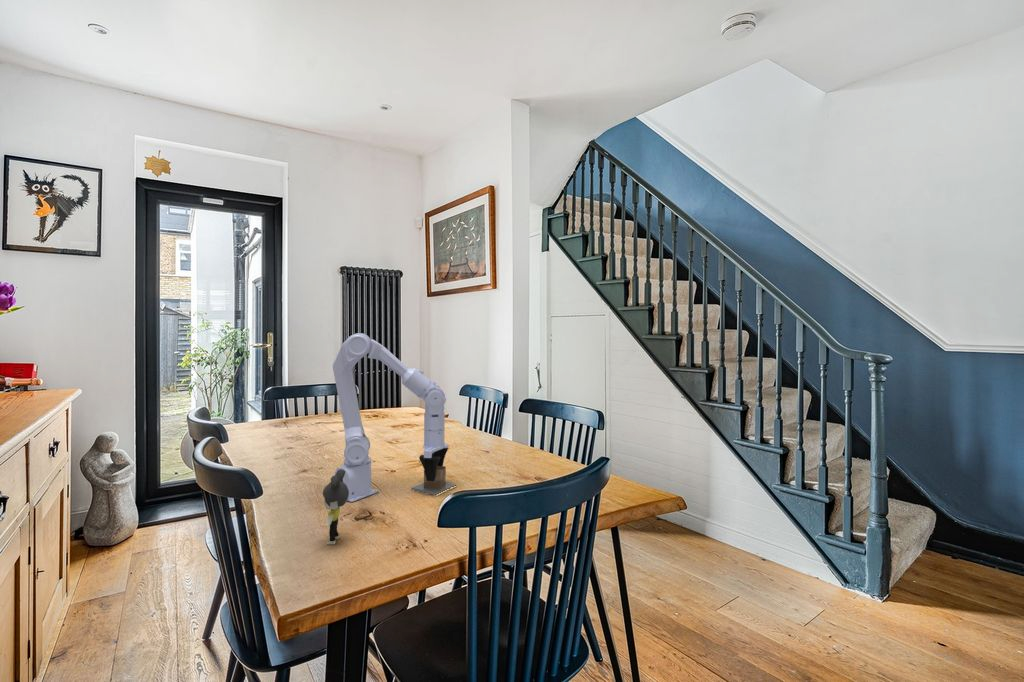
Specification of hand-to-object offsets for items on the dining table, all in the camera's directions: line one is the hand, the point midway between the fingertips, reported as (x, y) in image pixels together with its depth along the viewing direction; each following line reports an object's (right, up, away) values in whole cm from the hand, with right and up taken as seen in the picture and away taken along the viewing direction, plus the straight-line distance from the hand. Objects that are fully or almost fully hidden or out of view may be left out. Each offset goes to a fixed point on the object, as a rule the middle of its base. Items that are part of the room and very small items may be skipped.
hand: (434, 476), depth 142 cm
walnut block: (0, -3, 0) cm, 3 cm away
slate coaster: (0, -4, 0) cm, 3 cm away
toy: (-16, -5, -34) cm, 38 cm away
